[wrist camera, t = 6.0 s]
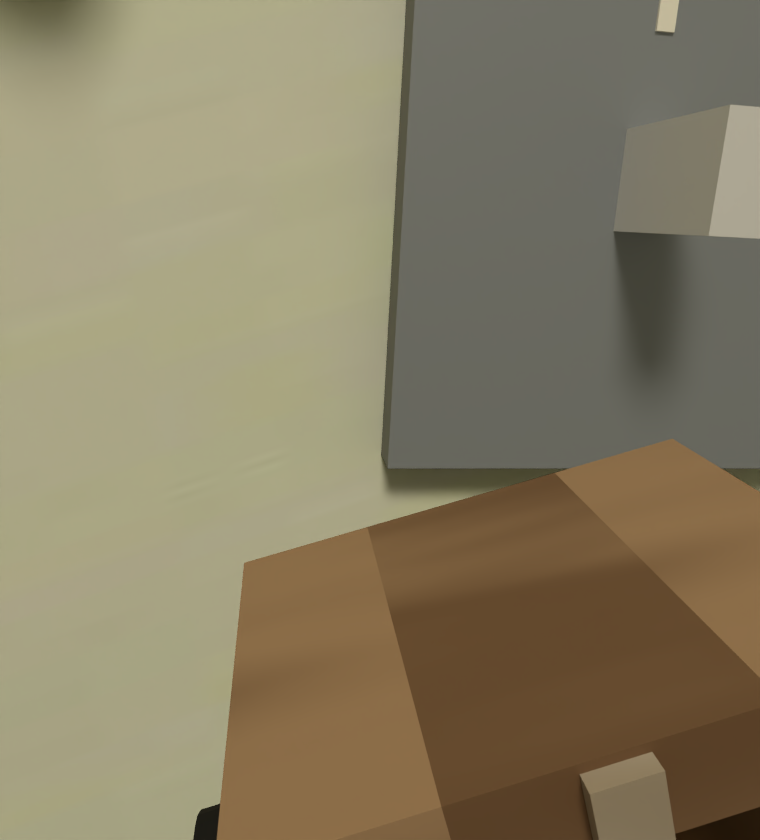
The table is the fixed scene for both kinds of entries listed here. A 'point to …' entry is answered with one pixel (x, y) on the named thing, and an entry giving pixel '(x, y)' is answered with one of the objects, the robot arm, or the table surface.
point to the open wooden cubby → (510, 667)
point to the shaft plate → (575, 233)
